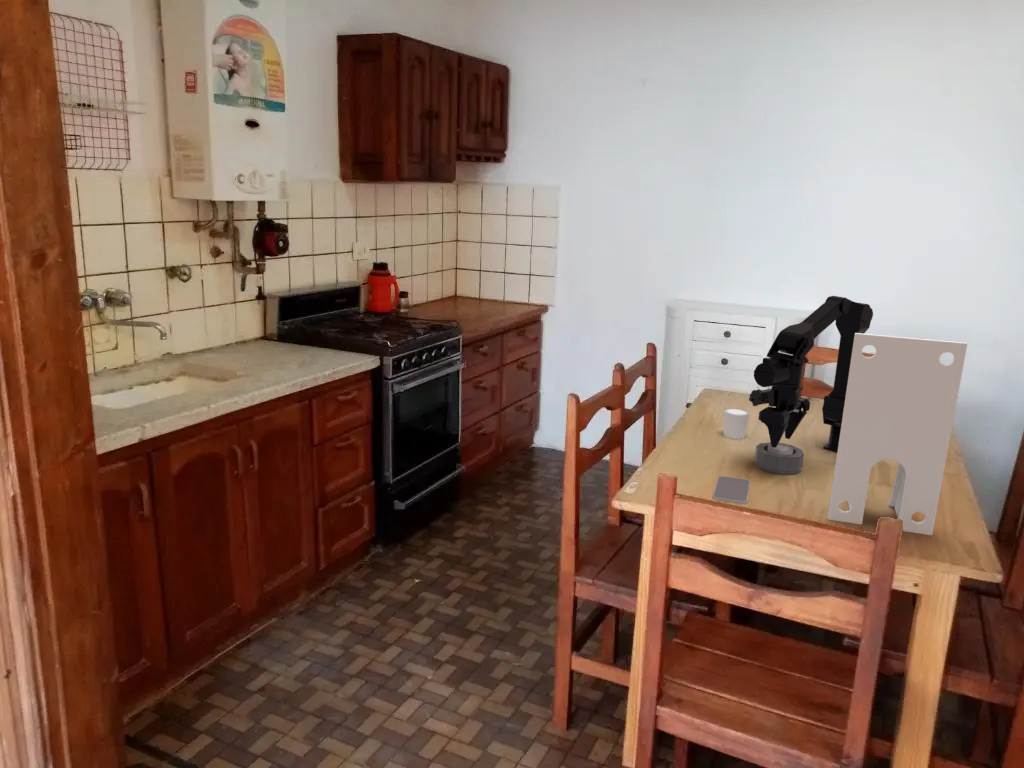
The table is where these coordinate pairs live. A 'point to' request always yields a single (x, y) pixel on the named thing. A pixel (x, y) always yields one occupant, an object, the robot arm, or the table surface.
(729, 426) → the white cylinder
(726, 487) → the grey square plate
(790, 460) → the grey ring
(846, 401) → the white bracket plate
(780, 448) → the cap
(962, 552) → the table surface
